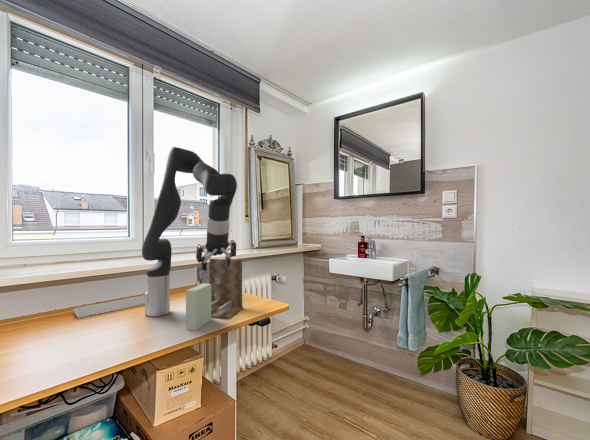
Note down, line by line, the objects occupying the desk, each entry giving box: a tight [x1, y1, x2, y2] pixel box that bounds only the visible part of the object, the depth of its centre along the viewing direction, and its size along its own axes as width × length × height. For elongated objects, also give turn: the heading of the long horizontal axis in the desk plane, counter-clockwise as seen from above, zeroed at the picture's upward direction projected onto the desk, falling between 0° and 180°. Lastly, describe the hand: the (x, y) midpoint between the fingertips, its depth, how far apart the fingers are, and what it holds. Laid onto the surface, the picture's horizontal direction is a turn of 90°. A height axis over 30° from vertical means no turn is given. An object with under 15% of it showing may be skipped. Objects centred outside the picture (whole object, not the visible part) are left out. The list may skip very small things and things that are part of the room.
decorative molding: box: [73, 294, 145, 319], centre depth 137 cm, size 34×5×10 cm
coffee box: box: [194, 265, 210, 287], centre depth 155 cm, size 9×6×16 cm
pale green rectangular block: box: [185, 284, 212, 332], centre depth 114 cm, size 5×12×15 cm, turn 168°
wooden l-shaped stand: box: [209, 258, 244, 320], centre depth 129 cm, size 16×15×23 cm
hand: (215, 267), depth 107 cm, fingers open, 8 cm apart
